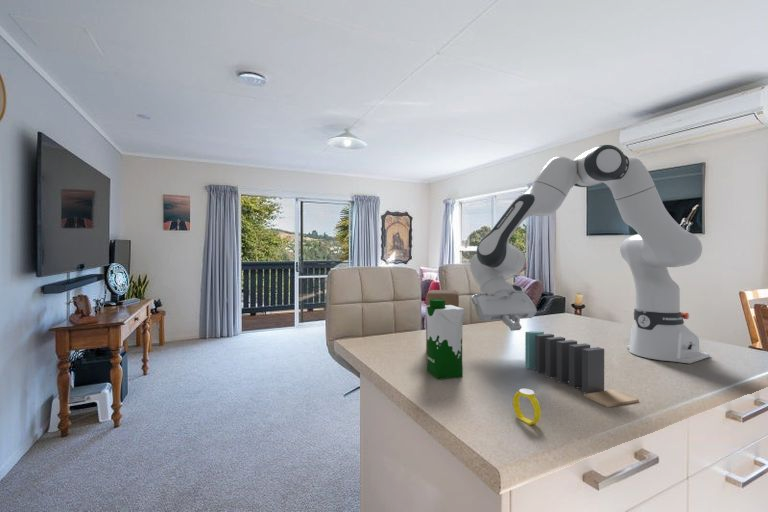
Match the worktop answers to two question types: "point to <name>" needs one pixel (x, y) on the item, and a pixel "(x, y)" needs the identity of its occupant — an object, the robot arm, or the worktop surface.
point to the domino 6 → (592, 370)
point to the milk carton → (444, 339)
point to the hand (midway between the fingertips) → (516, 329)
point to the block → (448, 295)
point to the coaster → (611, 398)
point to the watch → (536, 406)
